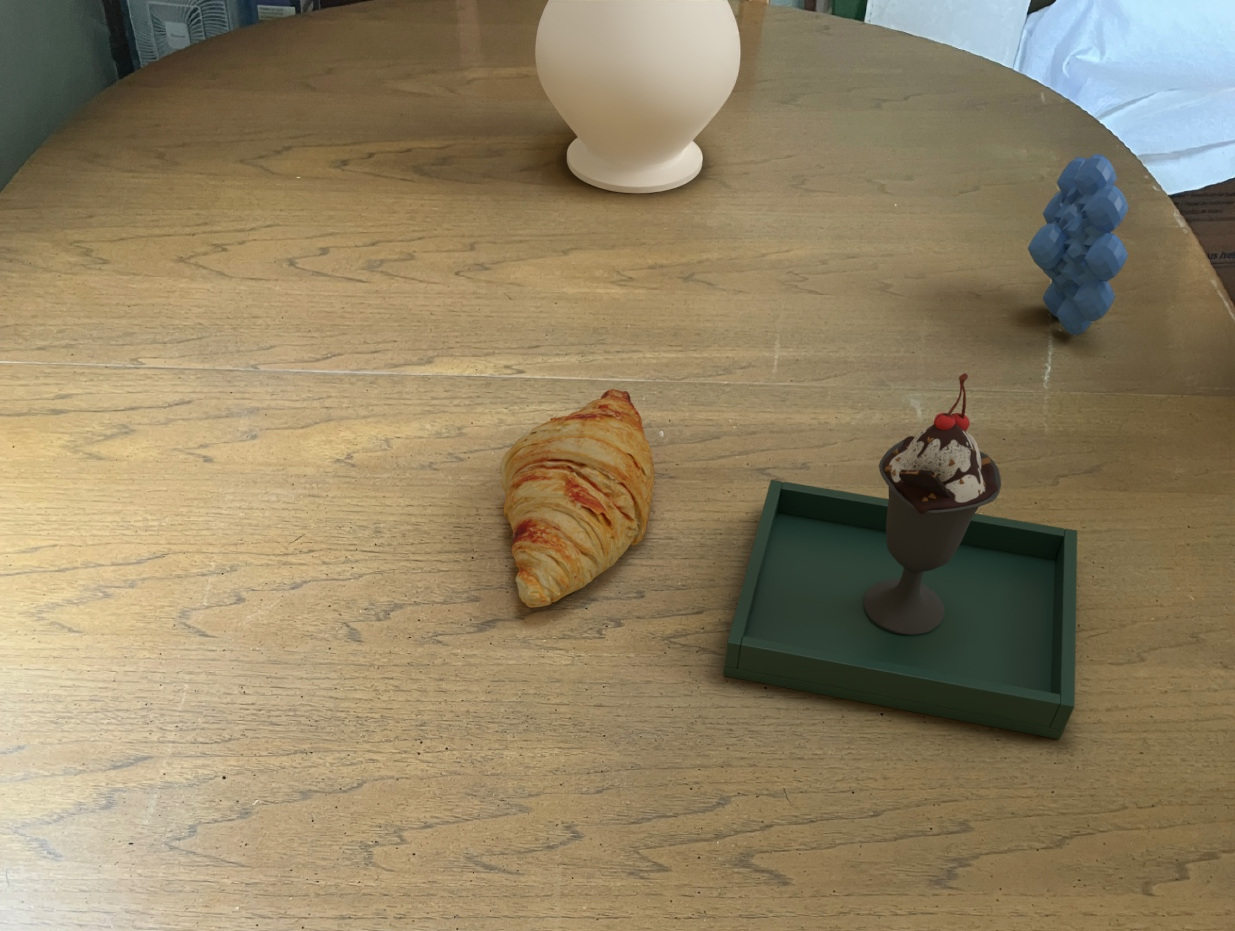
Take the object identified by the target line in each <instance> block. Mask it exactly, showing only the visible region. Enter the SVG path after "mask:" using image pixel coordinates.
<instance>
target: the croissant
mask: <svg viewBox="0 0 1235 931" xmlns="http://www.w3.org/2000/svg"><path fill="white" fill-rule="evenodd" d="M549 419H550V420H548V421H546V422H544V423H542V424H539V425H537V426H536V427H534V428H532V430H531V431H530V432H529V433H526V434H525V435H523V436H521V437H520V438H518V439H517V441H515V443H514V444H513V445H512V446H511V448H510V449H509V450H507V451H506V452H505V454H504V455H503V457H502V459H501V462H500V465H499V472H500V477H501V478H500V486H501V488H502V490H503V492H504V494H505V500H504V505H503V517H505V518H506V519H507V521H508V523H509V524H510V527H511V530H512V532H513V534H512V542H511V550H510V551H511V555H512V557H513V559H514V561H515V566H516V567H517V569H518V572H517V573H516V576H515V582H516V586H517V590H518V597H519V599H520V600H521V602H523V603H524V604H525V605H526V606H527V607H528V608H542V607H546V606H550V605H551V604H552V603H556V602H558V601H560V600H561V599H563V598H564V597H566V596H567V595H569V594H571V593H574V592H576V591H578V590H581V589H583V588H584V587H586V586H587V585H588V584H589V583H592V581H593V580H594V579H595V578H596V577H598V576H600V575H601V574H602V573H604V572H606V571H607V570H608V569H609V568H612V567H613V566H614V565H616V562H618V560H619V559H620V558H621V556H623V555H624V553H625V552H626V551H627V550H628V548H629V547H630V546H631V547H634V546H636V545H637V544H639V543H640V542H641V541H642V540H644V537H645V534H646V531H647V528H648V522H649V517H650V516H649V515H650V514H651V513H650V512H651V505H652V501H653V500H652V499H653V492H654V483H655V474H656V471H655V464H654V461H653V449H652V448H651V446H650V442H649V441H648V440H647V438H646V437H645V430H644V427H643V419H642V417H641V415H640V413H639V412H638V410H637V408H636V407H635V404H634V403H633V402H632V399H631V395H630V393H629V391H627V390H619V389H615V388H609V389H608V390H606V391H605V392H604V393H603V394H602V395H601V396H600V398H598V399H595V400H592V401H590V402H588V403H587V404H586V405H584V406H583V407H582V408H580V409H579V410H578V411H574V412H572V413H569V414H568V415H563V416H560V417H555V416H554V417H551V418H549Z"/></svg>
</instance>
